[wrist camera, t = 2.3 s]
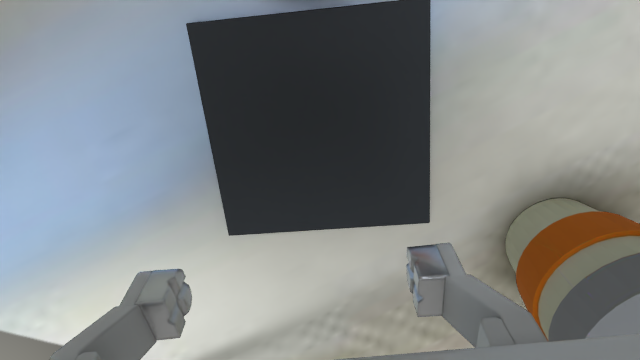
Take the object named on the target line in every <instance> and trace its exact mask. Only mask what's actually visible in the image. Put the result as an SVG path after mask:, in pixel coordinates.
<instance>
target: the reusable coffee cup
mask: <svg viewBox="0 0 640 360" xmlns="http://www.w3.org/2000/svg"><path fill="white" fill-rule="evenodd" d="M505 250H506V254H507V257H508V259H509V261H510V263H511V265H512V267H513V269H514V271H515V273H516V283H517V286H518V290H519V293H520V295H521V297H522V299H523V301H524V303H525V306H526V308H527V310H528V312H530V313H531V314H532V316H533V318H534V319H535V321H536V322H537V324H538V326H539V327H540V329H541V331H542V332H543V334H544V336H545V337H546V339H547V341H548V342H552V341H564V340H576V339H588V338H600V337H612V336H624V335H636V334H640V224H638V223H636V222H634V221H632V220H629V219H627V218H625V217H623V216H620V215H618V214H613V213H609V212H600V211H598V210H596V209H593V208H591V207H589V206H587V205H585V204H583V203H580V202H578V201H576V200H571V199H566V198H556V199H549V200H545V201H542V202H539V203H537V204H535V205H533V206H531V207H529V208H528V209H526V210H525V211H523V212H522V213H521V214H520V215H519V216H518V217H517V218H516V219H515V220H514V222H513V223H512V225H511V226H510V228H509V230H508V232H507V236H506V240H505Z"/></svg>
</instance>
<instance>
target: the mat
mask: <svg viewBox="0 0 640 360" xmlns="http://www.w3.org/2000/svg"><path fill="white" fill-rule="evenodd" d="M186 25H187V30H188V35H189V40H190V45H191V50H192V55H193V60H194V65H195V70H196V75H197V80H198V85H199V90H200V95H201V100H202V105H203V109H204V114H205V119H206V124H207V129H208V134H209V139H210V144H211V149H212V154H213V159H214V164H215V169H216V174H217V179H218V184H219V189H220V194H221V198H222V203H223V208H224V213H225V218H226V223H227V228H228V233H229V236H230V235H246V234H262V233H277V232H293V231H309V230H324V229H340V228H355V227H371V226H387V225H402V224H418V223H429V222H430V0H399V1H390V2H381V3H371V4H362V5H353V6H344V7H335V8H325V9H316V10H307V11H298V12H289V13H279V14H270V15H261V16H252V17H243V18H233V19H224V20H215V21H206V22H197V23H187V24H186Z"/></svg>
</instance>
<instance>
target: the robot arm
mask: <svg viewBox="0 0 640 360" xmlns="http://www.w3.org/2000/svg"><path fill="white" fill-rule="evenodd" d="M407 259H408V262H409V263H408V264H407V265H406V269H407V281H408V286H409V289H410V292H411V293H413V303H414V306H415V310H416V313H417V316H418V317H426V316H443V318H444V319H446V320H447V321H448V322H449V323H450V324H451V325H452V326H453V327H454V328H455V329H456V330H457V331H458V332H459V333H460V334H461V335H462V336H463V337H465V338H466V339H467V340H468V341H469V342H470V343H471V344H472V345H473V346H474V347H475V348H468V349H456V350H444V351H432V352H420V353H408V354H397V355H385V356H373V357H361V358H348V359H336V360H640V334H636V335H624V336H612V337H600V338H588V339H576V340H564V341H552V342H548V341H547V339H546V337H545V336H544V334H543V332H542V331H541V329H540V327H539V326H538V324H537V322H536V321H535V319H534V318H533V316H532V314H531V313H530V312H528V311H527V310H525V309H524V308H522V307H521V306H519V305H517V304H516V303H514V302H513V301H511V300H510V299H508V298H507V297H505V296H503V295H502V294H500V293H499V292H497V291H496V290H494V289H492V288H491V287H489V286H488V285H486V284H485V283H483V282H482V281H480V280H478V279H477V278H475V277H474V276H472V275H466V273H465V271H464V269H463V267H462V265H461V263H460V261H459V259H458V256H457V254H456V252H455V250H454V248H453V246H452V244H451V243H442V244H435V245H425V246H415V247H407ZM185 277H186V276H185V274H184V272H183V270H182V269H169V270H155V271H144V272H139V273H138V274H137V275H136V276H135V278H134V280H133V282H132V284H131V286H130V287H129V289H128V291H127V293H126V295H125V296H124V298H123V300H122V302H121V304H120V306H118V307H114V308H113V309H111V310H110V311H109V312H107V313H106V314H105V315H103V316H102V317H101V318H99V319H98V320H97V321H96V322H94V323H93V324H92V325H90V326H89V327H88V328H86V329H85V330H84V331H82V332H81V333H80V334H78V335H77V336H76V337H74V338H73V339H72V340H70V341H69V342H68V343H66V344H65V345H64V346H62V347H61V348H60V349H58V350H57V351H56V352H54V353H53V354H52V356H51V357H50V359H49V360H140V359H141V358H142V357H143V356H144V355H145V354H146V353H147V352H148V350H149V349H150V348H151V347H152V346H153V345H154V344H155V343H156V340H164V339H173V338H180V336H181V334H182V331H183V328H184V325H185V319H184V316H185V315H186V314H187V313H188V312H189V310H190V307H191V301H192V294H191V289H190V287H189V285H188V284H186V283H185V282H184V279H185Z"/></svg>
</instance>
